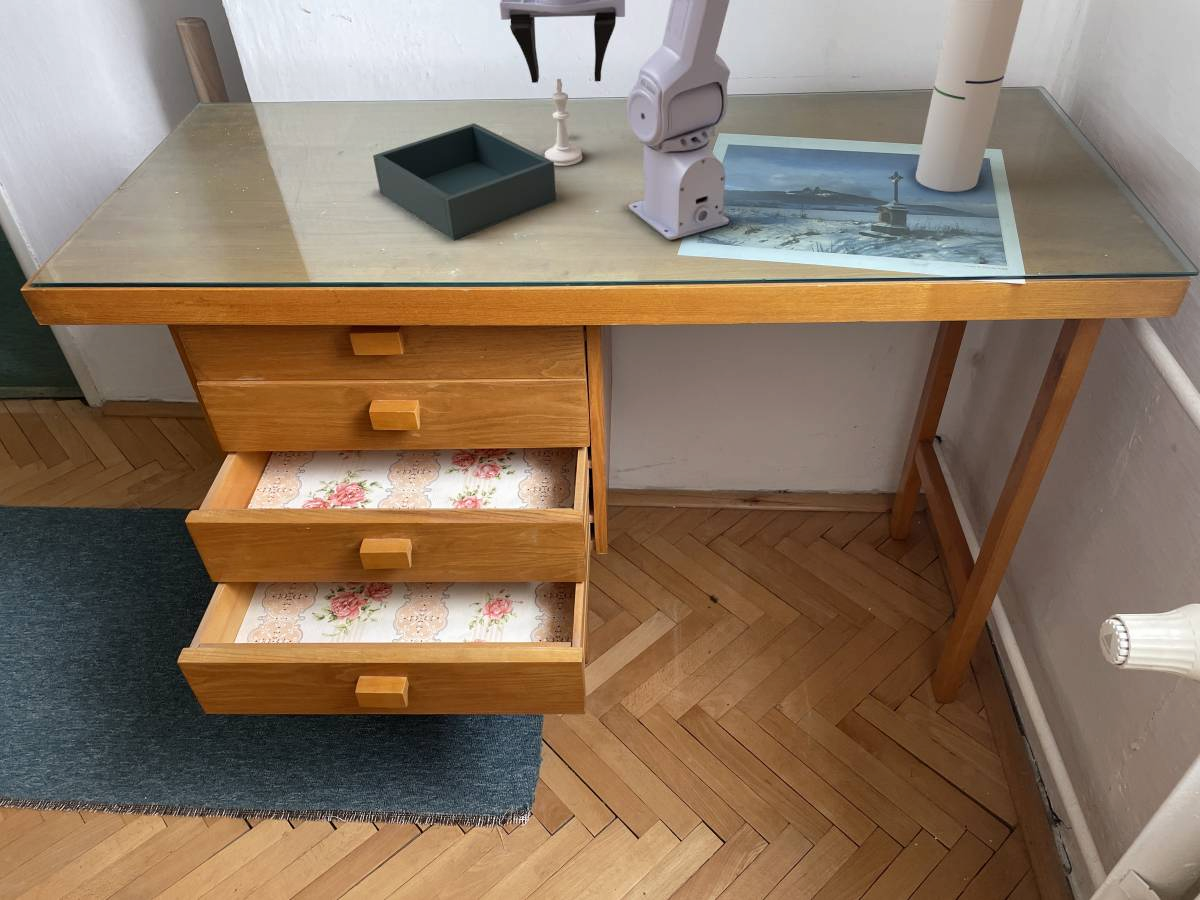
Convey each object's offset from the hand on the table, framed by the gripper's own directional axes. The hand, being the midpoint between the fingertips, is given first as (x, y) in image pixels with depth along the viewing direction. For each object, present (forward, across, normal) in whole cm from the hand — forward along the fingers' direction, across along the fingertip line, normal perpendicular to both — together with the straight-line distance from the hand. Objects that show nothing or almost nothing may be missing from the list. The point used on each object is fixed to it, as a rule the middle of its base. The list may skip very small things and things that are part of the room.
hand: (566, 79), depth 112 cm
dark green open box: (+10, +12, +11) cm, 19 cm away
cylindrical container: (+10, -46, +8) cm, 48 cm away
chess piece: (+10, +1, 0) cm, 10 cm away
